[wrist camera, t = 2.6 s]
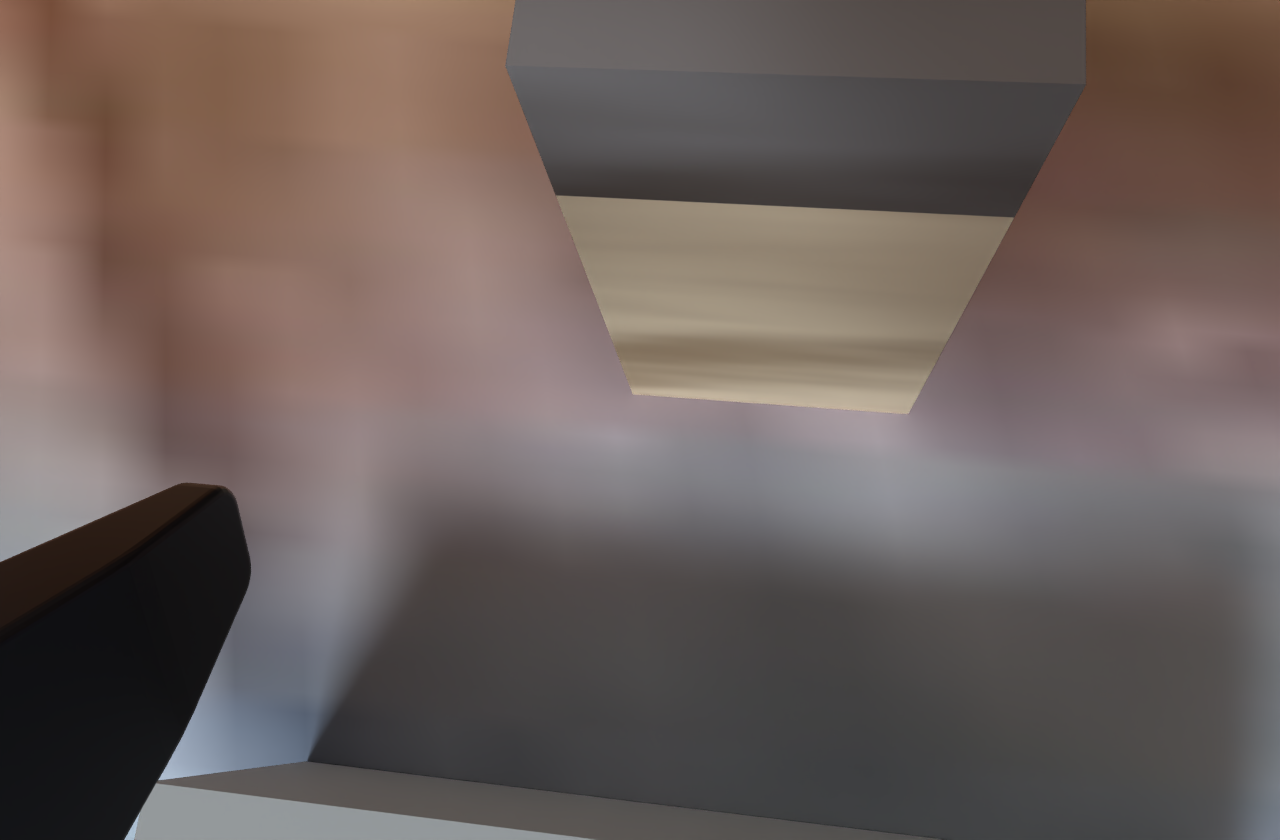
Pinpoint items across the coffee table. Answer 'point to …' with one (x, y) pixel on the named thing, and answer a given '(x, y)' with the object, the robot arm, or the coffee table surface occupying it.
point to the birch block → (791, 177)
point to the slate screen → (431, 811)
